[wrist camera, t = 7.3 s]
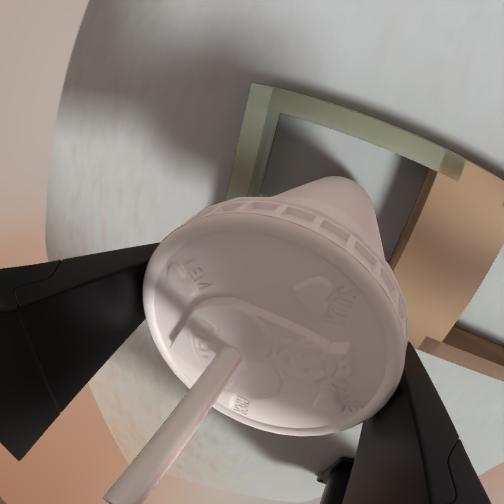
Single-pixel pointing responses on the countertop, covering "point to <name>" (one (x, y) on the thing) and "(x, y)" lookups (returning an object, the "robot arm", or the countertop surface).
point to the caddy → (418, 225)
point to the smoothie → (273, 319)
